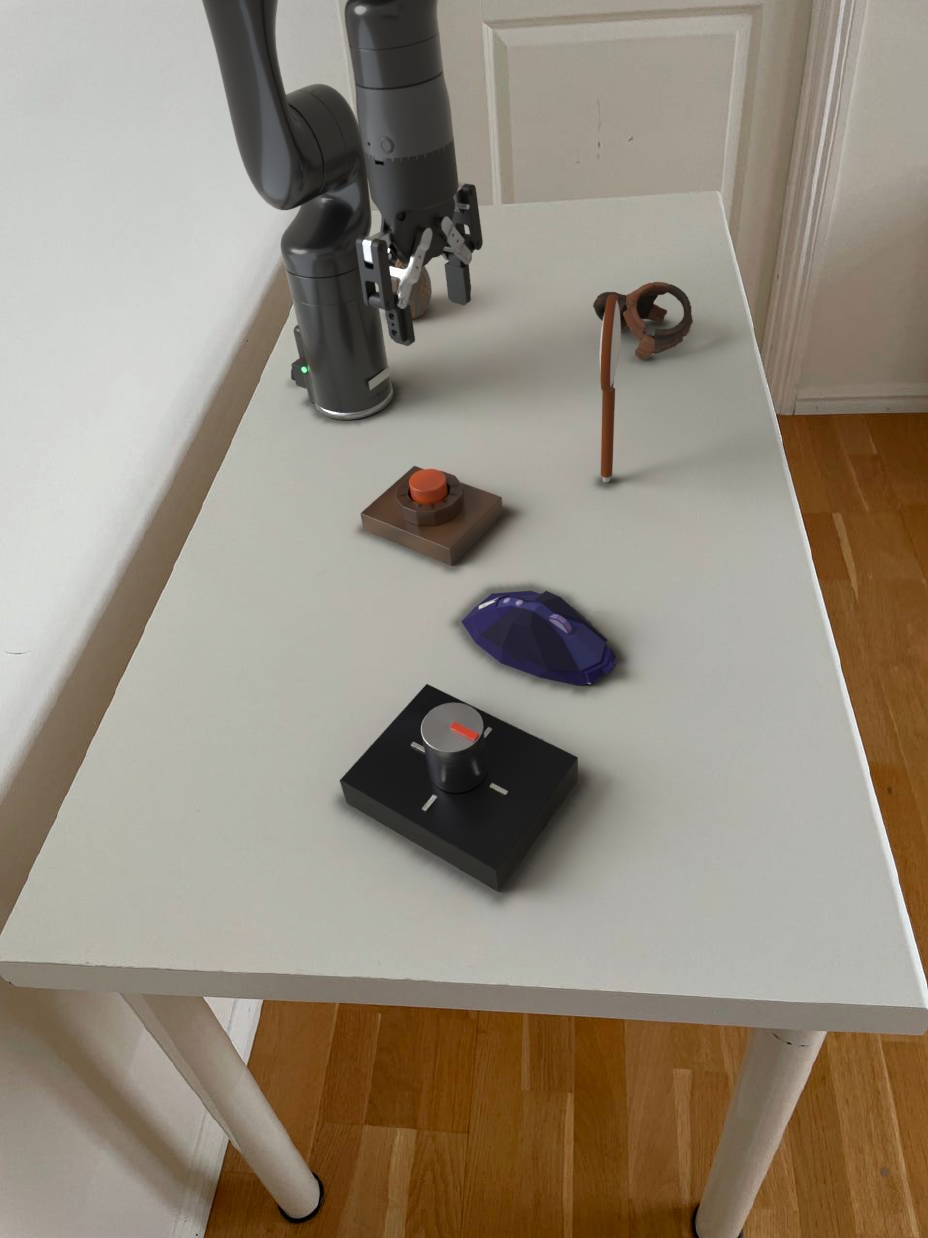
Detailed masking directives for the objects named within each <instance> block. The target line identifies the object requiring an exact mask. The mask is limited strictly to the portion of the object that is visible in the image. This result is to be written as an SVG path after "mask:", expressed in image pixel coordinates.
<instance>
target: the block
mask: <svg viewBox="0 0 928 1238" xmlns="http://www.w3.org/2000/svg"><path fill="white" fill-rule="evenodd" d="M424 469H425V468H422V467H420V466H417V465H413V466H412V467H410V469H409V470H408V471H406V472H405V473H404V474H403V475H402V476H401V477H400V478H399V479H398V480H396V481H395V482H394V483H392V485H391V486H389V487H388V488H387V489H386V490H385V491H384V492H382V494H380V495H379V496H378V497H377V498H376V499H375V500H374V501H372V502H371V503H370V504H369V505H368V506H367V507H366V508H365V509H363V510H362V511H361V512H360V519H361V524H362V528H363V531H365V532H367V533H370V534H372V535H375V536H377V537H380V538H382V539H385V540H387V541H389V542H391V543H394V544H397V545H398V546H402V547H404V548H407V549H410V550H412V551H413V552H416V553H418V554H421V555H424V556H426V557H428V558H431V559H433V560H436V561H438V562H440V563H443V564H445V565H448V566H451V567H452V566H454V565H455V564H456V562H458V561H459V560H460V559H461V558H462V557H463V556H464V554H466V553H467V552H468V551H469V550H470V548H471V547H472V546H473V545H474V544H476V542H477V541H478V540H479V539H480V538H481V537H482V536H483V535H484V534H485V533H486V532H487V531H488V530H489V529H490V528H491V527H492V526H493V525H494V524H495V523H496V522H497V521H498V520H499V519H500V518H501V517H502V516H503V515H504V508H503V497H502V496H500V495H498V494H494V493H493V492H489V491H486V490H483V489H480V488H478V487H475V486H473V485H469V484H467V483H464V482H461V481H460V480H459V479H458V477H457V476H456V475H455V474H452V473H449V472H447V471H444V470H440V471H441V472H442V473H444V475H445V476H446V483H447V491H448V493H447V496H446V497H445V499H443V500H442V501H439V502H437V503H434V504H419V503H417V502H415V501H414V500H413V499H412V497H411V491H410V485H409V480H410V478H411V476H412V475H413V474H414V473H416V472H418V471H420V470H424Z"/></svg>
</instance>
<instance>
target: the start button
mask: <svg viewBox="0 0 928 1238" xmlns="http://www.w3.org/2000/svg"><path fill="white" fill-rule="evenodd" d="M423 469H424V470H420V471H418V472H416V473H414V474H413V475H412V476H411V478H410V480H409V485H410V491H411V497H412V499H413V500H414V501H415V502H417V503H419V504H434V503H437V502H439V501H442V500H443V499H445V497H446V496H447V493H448V491H447V483H446V476H445V475H444V473H442V472H441V471H442V470H439V469H436V468H423Z"/></svg>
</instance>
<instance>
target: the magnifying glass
mask: <svg viewBox="0 0 928 1238" xmlns="http://www.w3.org/2000/svg"><path fill="white" fill-rule="evenodd" d="M600 329H601V330H600V339H599V374H600V388H601V392H602V395H601V396H602V401H601V437H600V438H601V439H600V445H601V447H600V476H601V477H602V482H603V483H609V482H611V477H612V476H613V467H614V439H615V438H614V437H615V436H614V435H615V410H616V409H615V405H616V388H615V387H614V385H615V378H616V376H617V371H618V365H619V359H620V349H621V335H622V334H621V332H622V329H621V326H620V311H619V297H618V295H615V294H611V295H609V296H608V298H607V301H606V307H605V313H604V317H603V321H602V322H601V328H600Z"/></svg>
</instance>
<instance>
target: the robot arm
mask: <svg viewBox="0 0 928 1238" xmlns="http://www.w3.org/2000/svg"><path fill="white" fill-rule="evenodd" d="M201 2H202V6H203V9H204V12H205V16H206V20H207V24H208V28H209V30H210V34H211V38H212V41H213V45H214V49H215V53H216V58H217V62H218V66H219V70H220V76H221V80H222V85H223V89H224V93H225V98H226V102H227V103H226V104H227V108H228V112H229V116H230V121H231V125H232V129H233V133H234V137H235V142H236V145H237V148H238V152H239V155H240V159H241V161H242V164H243V167H244V170H245V172H246V174H247V176H248V179H249V180H250V182H251V184H252V186H253V188H254V189H255V191H256V192H257V193H258V195H259V196H260V198H262V200H264V201H265V203H266V204H268V205H269V206H270V207H272V208H274V209H276V210H279V211H290V210H293V209H296V208H299V209H298V212H297V213H296V215H295V217H294V218H293V219H292V221H291V222H290V224H289V225H288V226H287V227H286V229H285V230H284V232H283V234H282V235H281V238H280V244H279V245H280V253H281V257H282V262H283V265H284V270H285V273H286V278H287V282H288V286H289V292H290V296H291V299H292V303H293V308H294V314H295V317H296V321H297V324H296V325H295V326H294V328H293V335H294V336H293V337H294V340H295V344H296V348H297V353H298V357H299V358H298V359H296V360H294V361H293V362H292V363H291V370H290V379H291V380H292V381H295V385H296V386H297V387H300V388H303V389H306V392H307V395H308V400H309V402H311V403H313V404H314V406H315V408H316V410H317V411H318V412H319V413H320V414H321V415H323V416H325V417H327V418H331V419H334V420H343V421H347V420H358V419H363V418H366V417H369V416H373V415H375V414H376V413H379V412H380V411H382V410H383V409H385V408H386V407H387V406H388V405H389V404H390V403H391V401H392V400H393V397H394V389H393V384H392V381H391V368H390V366H389V361H388V356H387V350H386V344H385V337H384V331H383V324H382V319H381V313H380V312H381V311H380V309H381V310H383V311H384V313H385V318H386V324H387V330H388V336H389V337H390V339H391V340H392V341H393V342H394V343H395V344H399V345H402V346H406V347H410V346H411V345H413V344H414V343H415V342H416V336H415V329H414V322H413V319H412V315H411V309H410V305H407V304H408V300H409V296H410V293H411V289H412V285H413V284H414V283H416V282H417V281H418V280H419V276H420V272H421V269H422V267H423V266H425V267H426V266H427V265H428V264H429V263H430V262H431V260H432V259H434V258H439V257H440V256H442V258H443V259H444V260H445V261H447V262H446V263H444V264H443V265H444V273H445V281H446V289H447V296H448V300H449V302H451V303H452V304H457V305H460V306H466V305H467V304H468V303H470V302H471V301H472V296H471V294H472V283H471V273H470V264H471V262H472V260H473V253H475V252H474V251H475V250H476V251H480V250H481V249H482V247H483V244H484V240H483V232H482V225H481V216H480V210H479V202H478V195H477V194H478V193H477V188H476V185H474V184H472V183H467V182H460V181H459V176H458V166H457V155H456V145H455V136H454V127H453V118H452V117H453V116H452V109H451V100H450V96H449V91H448V88H447V83H446V77H445V72H444V65H443V64H444V63H443V55H442V54H443V53H442V44H441V36H440V27H439V20H438V4H439V3H438V2H439V0H346V2H345V5H344V14H343V16H344V18H343V19H344V27H345V32H346V33H345V34H346V38H347V39H346V40H347V44H348V50H349V57H350V63H351V68H352V74H353V81H354V88H355V105H356V106H355V107H356V114H355V113H354V111H353V109H352V107H351V105H350V103H349V102H348V101H347V99H346V98H345V97H344V95H342V94H341V92H339V91H338V90H337V89H335V88H334V87H332V86H330V85H327V84H323V83H314V84H309V85H306V86H303V87H301V88H298V89H296V90H293V91H290V92H289V93H286V89H285V86H284V81H283V77H282V73H281V67H280V62H279V57H278V49H277V36H276V26H277V24H276V23H277V14H278V3H279V0H201ZM370 198H371V199H370ZM371 201H372V203H373V205H375V206H376V208H377V209H378V211H379V213H380V216H381V217H380V218H381V222H380V228H379V232H377V233H375V234H372V235H371V231H372V222H373V220H372V207H371ZM465 226H467V227H468V232H469V233H466V227H465ZM370 235H371V236H370ZM397 258H398V259H399V261H400V262H402V263H403V264H407V265H408V267H407V268H406V269H399V268H396V261H397ZM397 279H400V284H399V288H398V292H393V289H394V285H395V281H396V280H397ZM376 285H377V286H378V291H377V287H376Z"/></svg>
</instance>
